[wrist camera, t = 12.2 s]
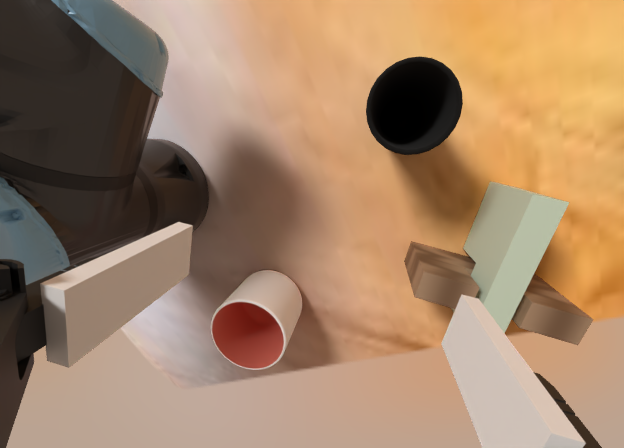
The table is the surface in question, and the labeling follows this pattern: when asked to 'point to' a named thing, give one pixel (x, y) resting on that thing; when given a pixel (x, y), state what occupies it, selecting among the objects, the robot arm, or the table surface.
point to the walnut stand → (457, 281)
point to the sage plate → (509, 245)
